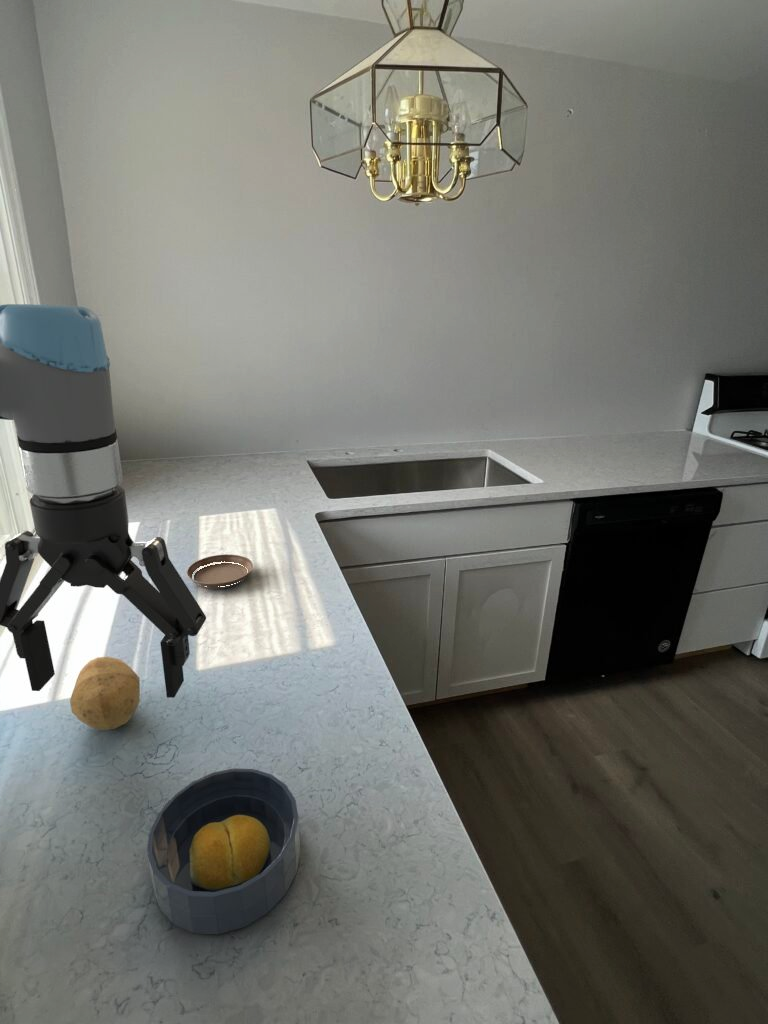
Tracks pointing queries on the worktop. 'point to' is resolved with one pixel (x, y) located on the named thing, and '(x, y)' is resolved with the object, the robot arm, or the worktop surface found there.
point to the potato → (105, 693)
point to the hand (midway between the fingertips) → (109, 685)
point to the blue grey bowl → (216, 803)
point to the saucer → (220, 571)
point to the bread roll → (228, 852)
